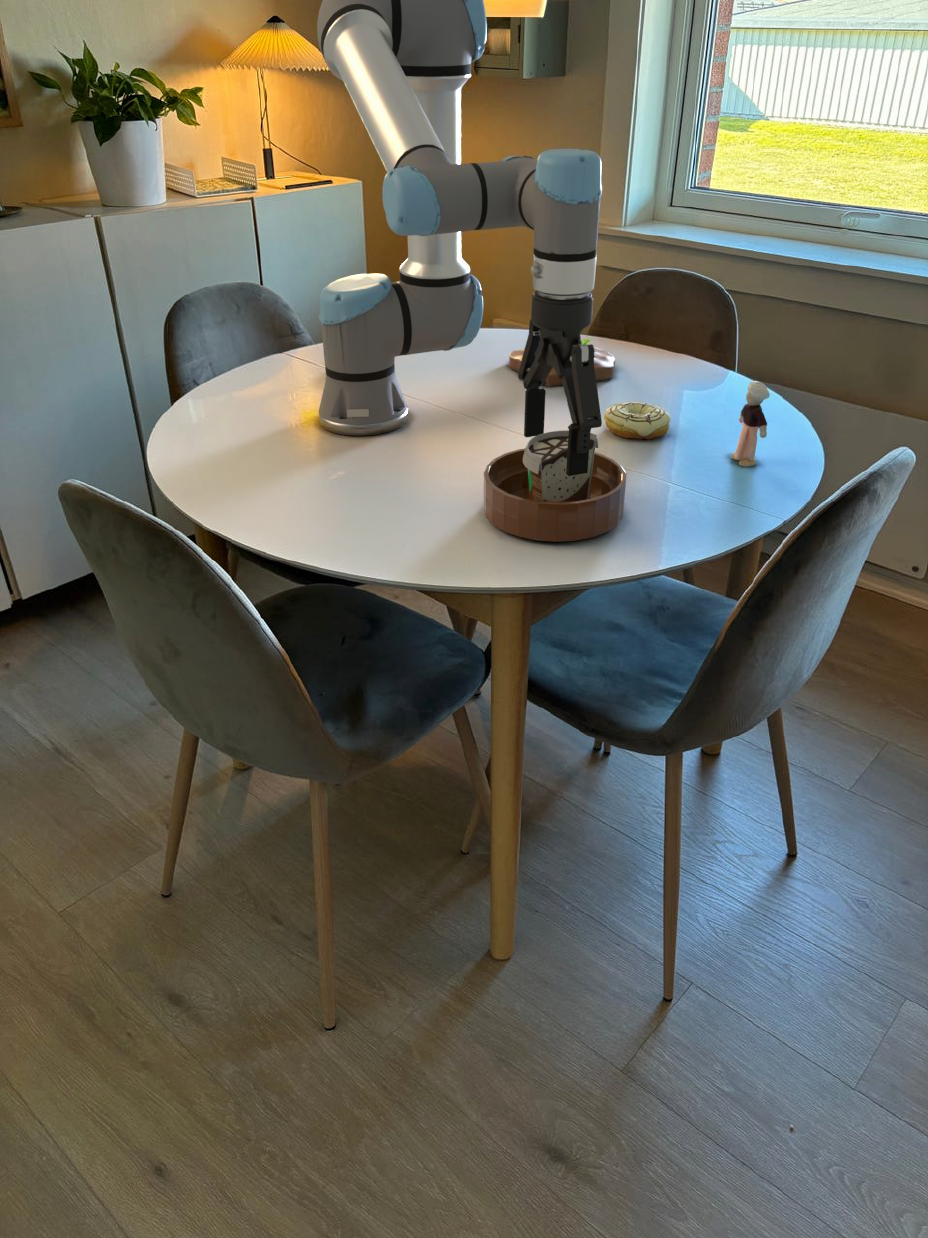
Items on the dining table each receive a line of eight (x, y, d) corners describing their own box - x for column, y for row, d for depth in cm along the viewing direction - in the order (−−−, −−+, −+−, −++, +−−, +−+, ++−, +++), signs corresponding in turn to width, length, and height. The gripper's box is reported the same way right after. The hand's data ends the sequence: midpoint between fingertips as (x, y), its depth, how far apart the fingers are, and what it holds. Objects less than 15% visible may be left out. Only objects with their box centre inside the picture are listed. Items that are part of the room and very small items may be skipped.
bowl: (464, 496, 135) (464, 457, 131) (583, 476, 140) (586, 438, 137) (516, 556, 119) (517, 513, 116) (648, 530, 125) (652, 489, 122)
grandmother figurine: (719, 455, 146) (731, 376, 139) (739, 451, 147) (752, 372, 141) (750, 473, 140) (764, 391, 133) (771, 469, 141) (786, 387, 135)
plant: (631, 379, 177) (636, 320, 171) (534, 390, 173) (536, 329, 167) (590, 350, 194) (593, 294, 188) (500, 359, 189) (501, 303, 183)
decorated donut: (651, 447, 149) (654, 425, 147) (592, 433, 154) (594, 411, 152) (678, 427, 156) (681, 405, 154) (621, 414, 162) (623, 393, 160)
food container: (561, 487, 135) (564, 422, 130) (594, 500, 132) (599, 433, 126) (502, 514, 128) (503, 446, 123) (535, 529, 124) (538, 459, 119)
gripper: (495, 271, 122) (493, 424, 134) (580, 322, 103) (569, 496, 115) (547, 266, 124) (541, 417, 136) (640, 315, 105) (623, 486, 117)
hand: (554, 453), depth 125 cm, fingers open, 13 cm apart
